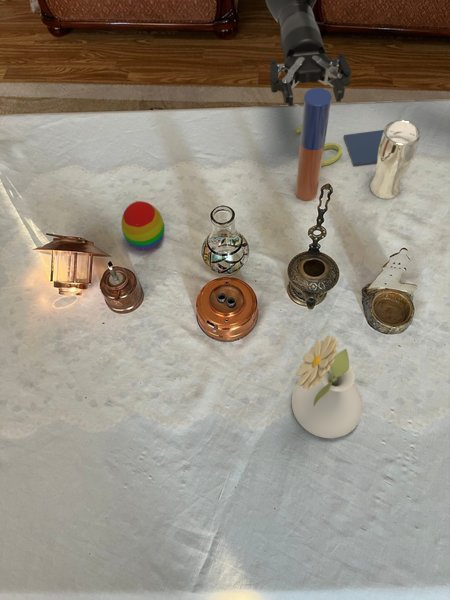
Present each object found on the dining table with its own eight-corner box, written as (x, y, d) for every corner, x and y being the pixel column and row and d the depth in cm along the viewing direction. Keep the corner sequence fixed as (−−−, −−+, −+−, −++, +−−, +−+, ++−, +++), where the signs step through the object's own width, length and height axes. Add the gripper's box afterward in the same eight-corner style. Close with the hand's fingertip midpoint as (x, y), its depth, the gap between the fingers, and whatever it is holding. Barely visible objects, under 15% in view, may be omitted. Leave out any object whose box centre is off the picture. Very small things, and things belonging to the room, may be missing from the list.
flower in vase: (323, 361, 90) (344, 285, 69) (375, 407, 86) (415, 341, 64) (269, 411, 86) (274, 347, 65) (321, 463, 82) (344, 412, 60)
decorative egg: (168, 222, 108) (161, 189, 99) (164, 255, 104) (156, 223, 95) (129, 222, 108) (118, 189, 100) (124, 255, 104) (112, 223, 95)
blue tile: (382, 132, 118) (383, 129, 117) (394, 161, 113) (395, 158, 112) (343, 137, 117) (343, 134, 117) (353, 166, 113) (354, 163, 112)
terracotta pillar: (314, 183, 111) (321, 131, 99) (319, 199, 109) (327, 148, 97) (293, 186, 111) (297, 134, 99) (297, 202, 109) (302, 152, 97)
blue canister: (321, 131, 99) (328, 86, 90) (327, 148, 97) (334, 103, 88) (297, 134, 99) (301, 89, 90) (302, 152, 97) (307, 107, 88)
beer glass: (362, 180, 111) (376, 124, 98) (392, 172, 112) (410, 115, 99) (377, 204, 107) (393, 149, 94) (408, 195, 108) (428, 139, 95)
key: (300, 128, 120) (301, 121, 118) (345, 153, 115) (347, 145, 113) (281, 146, 117) (281, 139, 115) (326, 172, 113) (327, 164, 111)
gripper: (264, 28, 97) (275, 85, 89) (341, 21, 97) (359, 77, 89) (264, 64, 103) (274, 120, 95) (336, 58, 103) (352, 113, 95)
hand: (315, 100), depth 92 cm, fingers open, 8 cm apart
